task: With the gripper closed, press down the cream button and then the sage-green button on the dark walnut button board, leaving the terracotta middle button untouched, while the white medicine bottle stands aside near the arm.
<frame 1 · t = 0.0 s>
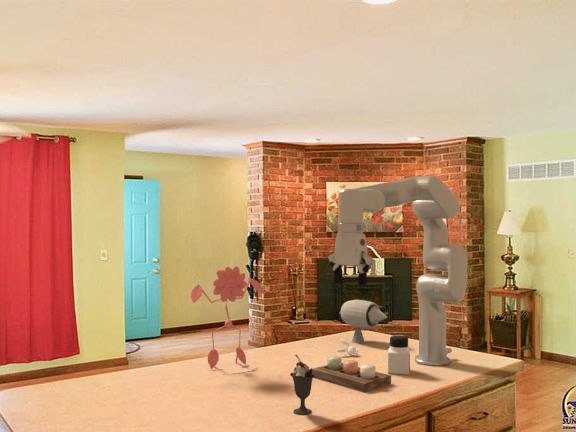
hand: (350, 284, 177), 31 cm above the worktop, tool pointing down, fingers open, 9 cm apart
sage button: (334, 363, 188), point 4 cm above the worktop, slide at 0.0 cm
jet engine: (362, 343, 238), on the worktop
rabbit figurine: (346, 355, 216), on the worktop
figurine: (230, 369, 197), on the worktop
terracotta button: (350, 367, 183), point 4 cm above the worktop, slide at 0.0 cm
cream button: (367, 372, 178), point 4 cm above the worktop, slide at 0.0 cm
button board: (350, 380, 183), on the worktop
medicine bottle: (398, 372, 194), on the worktop
sundae: (302, 412, 153), on the worktop
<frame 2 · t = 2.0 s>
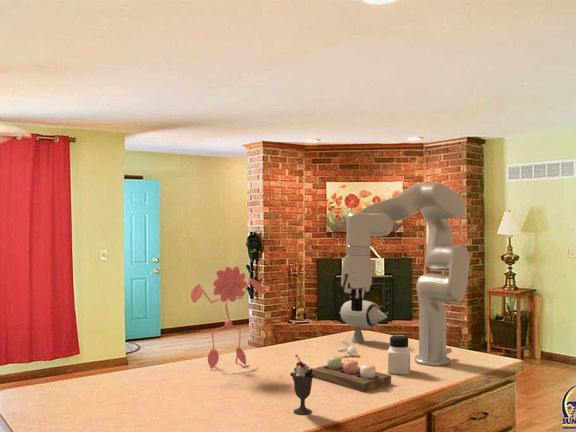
hand: (356, 310, 180), 23 cm above the worktop, tool pointing down, fingers closed
nothing on the worktop moved.
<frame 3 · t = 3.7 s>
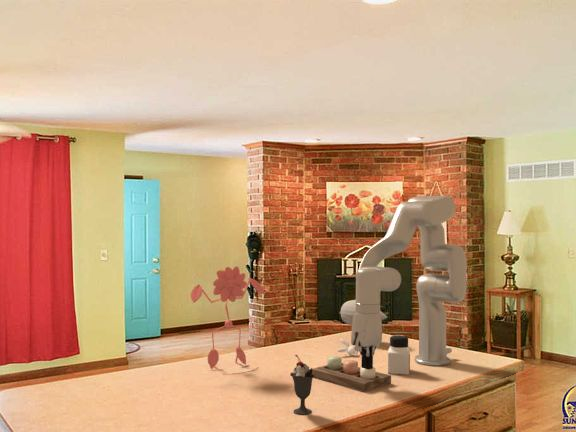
hand: (367, 368, 178), 5 cm above the worktop, tool pointing down, fingers closed
cream button: (367, 373, 178), point 4 cm above the worktop, slide at 0.5 cm, touching gripper
everything else where it was.
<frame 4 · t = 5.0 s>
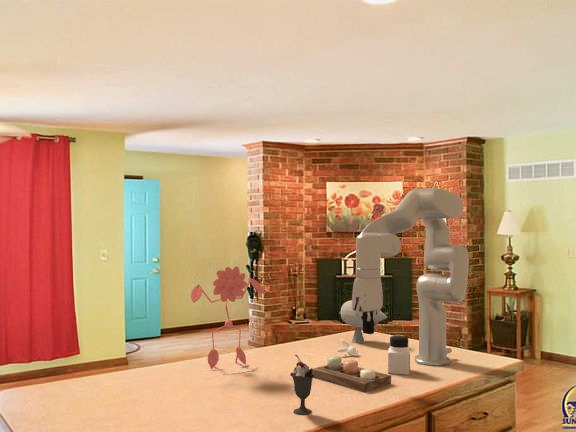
hand: (368, 333, 178), 16 cm above the worktop, tool pointing down, fingers closed
cream button: (367, 376, 178), point 3 cm above the worktop, slide at 1.5 cm
everything else where it was.
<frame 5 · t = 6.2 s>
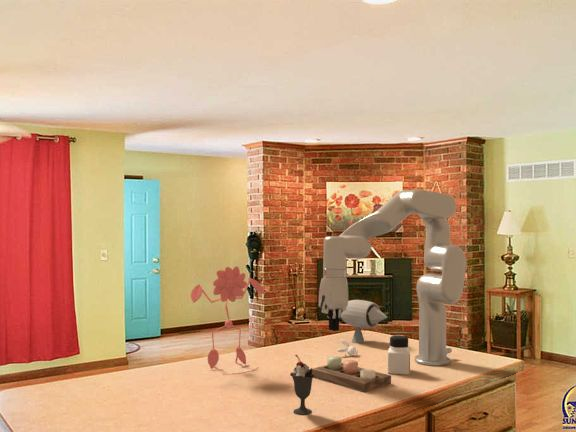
hand: (333, 329, 188), 15 cm above the worktop, tool pointing down, fingers closed
nothing on the worktop moved.
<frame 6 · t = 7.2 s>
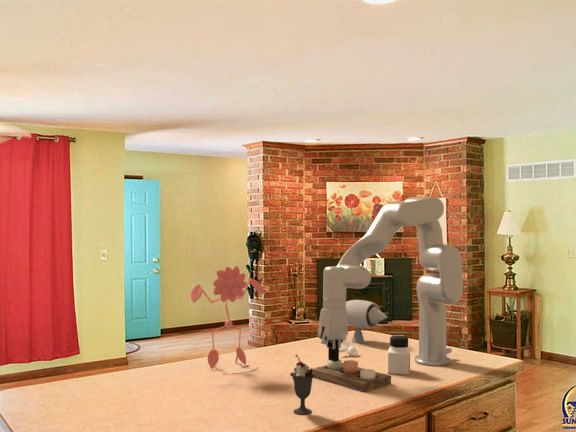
hand: (333, 360, 188), 5 cm above the worktop, tool pointing down, fingers closed
sage button: (334, 365, 188), point 3 cm above the worktop, slide at 0.8 cm, touching gripper
everything else where it was.
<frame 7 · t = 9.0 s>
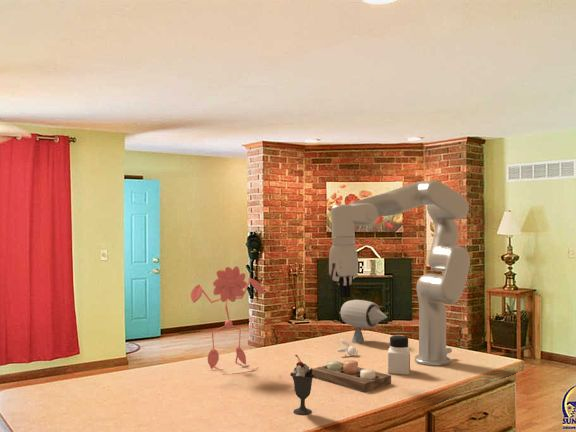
hand: (345, 297, 191), 25 cm above the worktop, tool pointing down, fingers closed
sage button: (334, 367, 188), point 3 cm above the worktop, slide at 1.5 cm
everything else where it was.
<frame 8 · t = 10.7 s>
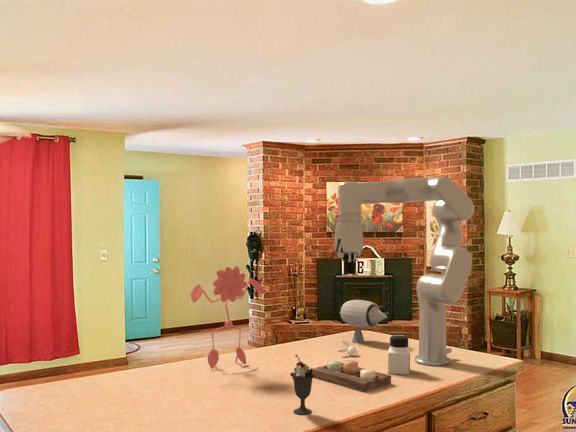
hand: (349, 273, 192), 33 cm above the worktop, tool pointing down, fingers closed
nothing on the worktop moved.
at the end: cream button slide at 1.5 cm; sage button slide at 1.5 cm; terracotta button slide at 0.0 cm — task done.
